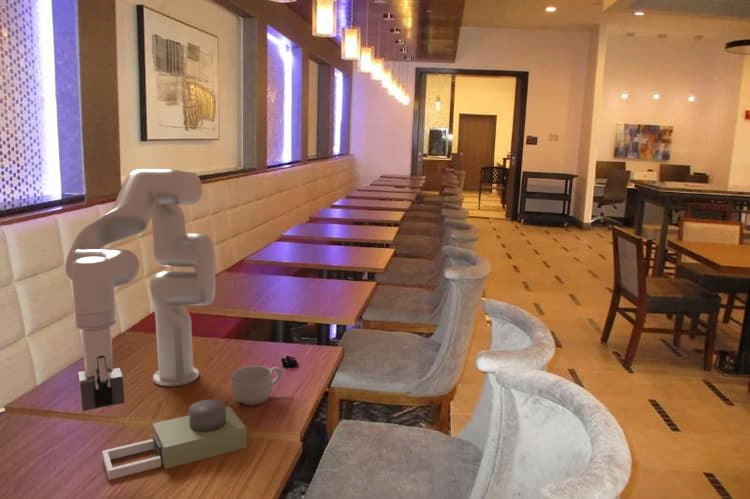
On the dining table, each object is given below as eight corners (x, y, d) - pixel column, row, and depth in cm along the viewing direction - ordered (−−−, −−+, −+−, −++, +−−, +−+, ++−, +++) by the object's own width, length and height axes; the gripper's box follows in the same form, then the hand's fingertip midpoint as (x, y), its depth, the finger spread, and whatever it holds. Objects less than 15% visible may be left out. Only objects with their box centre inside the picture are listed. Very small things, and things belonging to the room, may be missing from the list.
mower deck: (101, 455, 134) (98, 418, 132) (230, 425, 148) (229, 390, 146) (109, 483, 124) (106, 443, 122) (246, 447, 138) (245, 411, 136)
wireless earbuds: (298, 366, 182) (282, 361, 181) (295, 373, 182) (279, 369, 181) (297, 357, 189) (282, 353, 188) (295, 364, 189) (279, 360, 188)
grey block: (80, 401, 128) (78, 371, 127) (121, 393, 132) (119, 365, 130) (82, 411, 124) (79, 381, 122) (124, 402, 127) (122, 373, 126)
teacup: (238, 412, 155) (237, 383, 153) (227, 395, 164) (226, 368, 162) (289, 402, 161) (289, 373, 159) (276, 386, 170) (276, 359, 169)
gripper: (73, 308, 129) (80, 387, 133) (78, 333, 115) (86, 421, 119) (111, 303, 133) (116, 380, 137) (121, 327, 118) (127, 412, 122)
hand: (102, 398), depth 128 cm, fingers closed on grey block, 5 cm apart
